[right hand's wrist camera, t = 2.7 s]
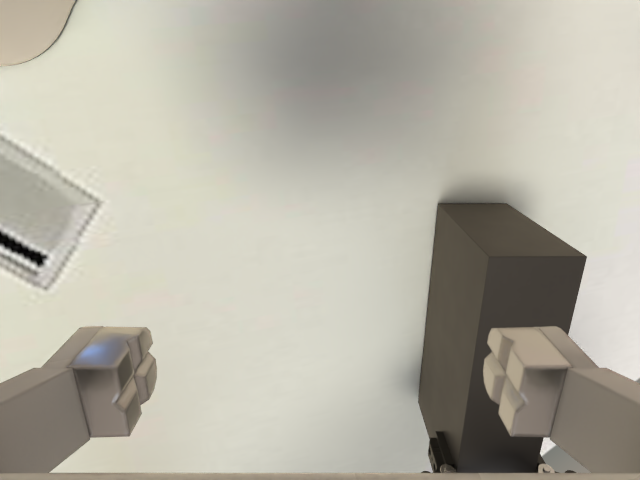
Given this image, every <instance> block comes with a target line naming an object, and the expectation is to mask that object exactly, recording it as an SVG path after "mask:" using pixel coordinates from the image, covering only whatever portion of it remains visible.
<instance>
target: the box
mask: <svg viewBox="0 0 640 480" xmlns="http://www.w3.org/2000/svg"><path fill="white" fill-rule="evenodd" d="M586 258H587V256H585V255H584V254H582V253H581V252H579V251H578V250H576V249H575V248H573V247H572V246H570V245H568V244H567V243H565V242H564V241H562V240H561V239H559V238H558V237H556V236H555V235H553V234H552V233H550V232H549V231H547V230H546V229H544V228H543V227H541V226H540V225H538V224H537V223H535V222H534V221H532V220H531V219H529V218H528V217H526V216H525V215H523V214H522V213H520V212H519V211H517V210H516V209H514V208H512V207H511V206H509V205H508V204H438V212H437V222H436V232H435V241H434V251H433V261H432V271H431V281H430V291H429V301H428V311H427V321H426V331H425V340H424V350H423V360H422V370H421V380H420V390H419V400H418V403H419V406H420V409H421V413H422V416H423V419H424V422H425V425H426V429H427V432H428V435H429V438H434V432H435V431H443V433H444V436H445V439H446V442H447V444H448V447H449V450H450V453H451V456H452V458H453V461H454V469H455V470H456V471H457V472H458V473H535V471H536V467H537V462H538V458H539V454H540V450H541V446H542V442H543V437H516V436H510V434H509V432H508V431H507V429H506V427H505V425H504V423H503V421H502V420H501V418H500V416H499V414H498V412H499V407H500V405H499V404H497V403H496V402H494V401H493V400H491V399H490V397H489V395H488V393H487V391H486V387H485V384H484V376H483V367H484V359H485V358H486V357H487V356H488V355H489V354H490V353H491V352H492V350H491V349H490V347H489V345H488V344H487V341H488V336H489V333H490V331H491V329H492V328H518V327H546V326H556V327H559V328H561V329H562V330H563V331H564V332H565V333H566V334H567V335H568V333H569V329H570V325H571V321H572V316H573V312H574V308H575V304H576V300H577V296H578V291H579V287H580V283H581V279H582V275H583V271H584V266H585V262H586Z"/></svg>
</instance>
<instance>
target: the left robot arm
mask: <svg viewBox="0 0 640 480" xmlns="http://www.w3.org/2000/svg"><path fill="white" fill-rule="evenodd" d="M428 456H429V459H430V463H431V466H432V470H433V473H458V472H457V471H456V470H455V469H454V461H453V458H452V456H451V453H450V450H449V447H448V444H447V442H446V439H445V436H444V433H443V431H435V432H434V438H430V442H429V450H428ZM421 473H430V472H428V471H423V472H421ZM535 473H559V472H555V471H554V469H553V468H552V467H550V466H549V465H546V464H545V462H544V460H543V458H542V457H541V455H540V454H539V458H538V462H537V467H536V471H535ZM565 473H576V472H574V471H571V470H568V471H566V472H565Z"/></svg>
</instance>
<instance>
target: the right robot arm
mask: <svg viewBox="0 0 640 480" xmlns="http://www.w3.org/2000/svg"><path fill="white" fill-rule="evenodd" d="M75 1H76V0H0V66H10V65H16V64H20V63H23V62H26V61H29V60H31V59H33V58H35V57H37V56H38V55H40V54H41V53H43V52H44V51H45V50H47V49H48V48H49V47H50V46H51V45H52V44H53V42H54V41H55V40H56V39H57V37H58V36H59V34H60V33H61V31H62V29H63V27H64V25H65V23H66V21H67V18H68V16H69V13H70V11H71V8H72V6H73V4H74V3H75ZM152 344H153V342H152V337H151V332H150V330H149V329H148V328H147V327H103V326H91V327H81V328H79V329H78V330H77V331H76V332H75V333H74V334H73V335H72V336H71V337H70V338H69V339H68V340H67V341H66V342H65V344H64V345H63V346H62V347H61V348H60V349H59V350H58V351H57V352H56V353H55V354H54V355H53V356H52V357H51V358H50V359H49V360H48V361H47V362H46V363H45V364H44V365H43V366H42V367H41V368H33V369H30V370H28V371H26V372H24V373H22V374H20V375H18V376H15V377H13V378H11V379H9V380H7V381H5V382H2V383H0V480H640V383H637V382H635V381H633V380H631V379H629V378H627V377H625V376H622V375H620V374H618V373H616V372H614V371H612V370H610V369H607V368H599V367H598V366H597V365H596V364H595V363H594V362H593V361H592V360H591V359H590V358H589V357H588V356H587V355H586V354H585V353H584V352H583V351H582V350H581V349H580V348H579V347H578V345H577V344H576V343H575V342H574V341H573V340H572V339H571V338H570V337H569V336H568V335H567V334H566V333H565V332H564V331H563V330H562V329H561V328H559V327H556V326H546V327H518V328H492V329H491V331H490V333H489V336H488V341H487V344H488V345H489V347H490V349H491V350H492V352H491V353H490V354H489V355H488V356H487V357H486V358H485V359H484V367H483V376H484V384H485V387H486V391H487V393H488V395H489V397H490V399H491V400H493V401H494V402H496V403H497V404H499V405H500V407H499V412H498V414H499V416H500V418H501V420H502V421H503V423H504V425H505V427H506V429H507V431H508V432H509V434H510V436H516V437H550V440H551V441H553V442H554V443H555V444H556V445H558V446H559V447H560V448H561V449H563V450H564V451H565V452H566V453H568V454H569V455H570V456H571V457H573V458H574V459H575V460H576V461H577V462H579V463H580V464H581V465H582V466H584V467H585V468H586V469H587V470H589V471H590V472H591V473H49V472H50V471H51V470H53V469H54V468H55V467H56V466H58V465H59V464H60V463H61V462H63V461H64V460H65V459H66V458H68V457H69V456H70V455H71V454H73V453H74V452H75V451H76V450H78V449H79V448H80V447H81V446H83V445H84V444H85V443H86V442H88V441H89V440H90V437H123V436H130V434H131V433H132V431H133V429H134V427H135V425H136V423H137V421H138V420H139V418H140V416H141V414H142V412H141V407H140V405H141V404H143V403H144V402H146V401H147V400H149V399H150V397H151V395H152V393H153V391H154V387H155V383H156V379H157V366H156V359H155V358H154V357H153V356H152V355H151V354H150V353H149V352H148V350H149V349H150V347H151V345H152Z"/></svg>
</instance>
